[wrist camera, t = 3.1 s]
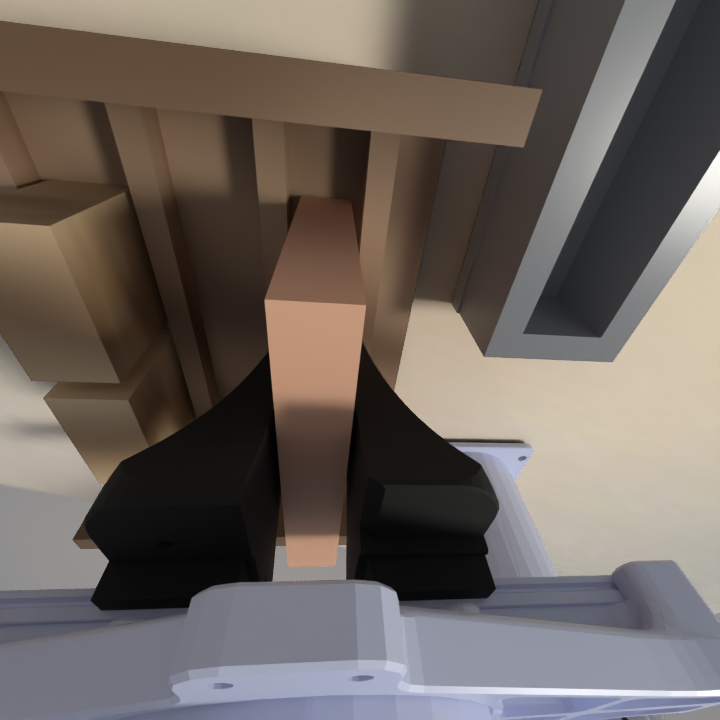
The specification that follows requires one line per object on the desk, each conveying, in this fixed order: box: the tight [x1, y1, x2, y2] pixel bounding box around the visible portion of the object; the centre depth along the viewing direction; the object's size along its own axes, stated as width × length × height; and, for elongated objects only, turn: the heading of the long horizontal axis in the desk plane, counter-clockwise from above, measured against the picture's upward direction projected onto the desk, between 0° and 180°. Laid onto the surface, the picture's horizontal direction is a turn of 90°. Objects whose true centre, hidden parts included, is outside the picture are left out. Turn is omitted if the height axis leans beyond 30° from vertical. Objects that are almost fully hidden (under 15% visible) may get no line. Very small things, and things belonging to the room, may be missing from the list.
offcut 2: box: [43, 329, 196, 483], centre depth 13 cm, size 4×2×4 cm, turn 175°
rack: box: [0, 21, 542, 549], centre depth 12 cm, size 16×13×6 cm
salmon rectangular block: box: [264, 196, 366, 567], centre depth 11 cm, size 10×2×7 cm, turn 175°
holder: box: [452, 0, 720, 362], centre depth 9 cm, size 14×5×4 cm, turn 175°
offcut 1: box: [0, 179, 168, 383], centre depth 10 cm, size 4×2×4 cm, turn 175°
